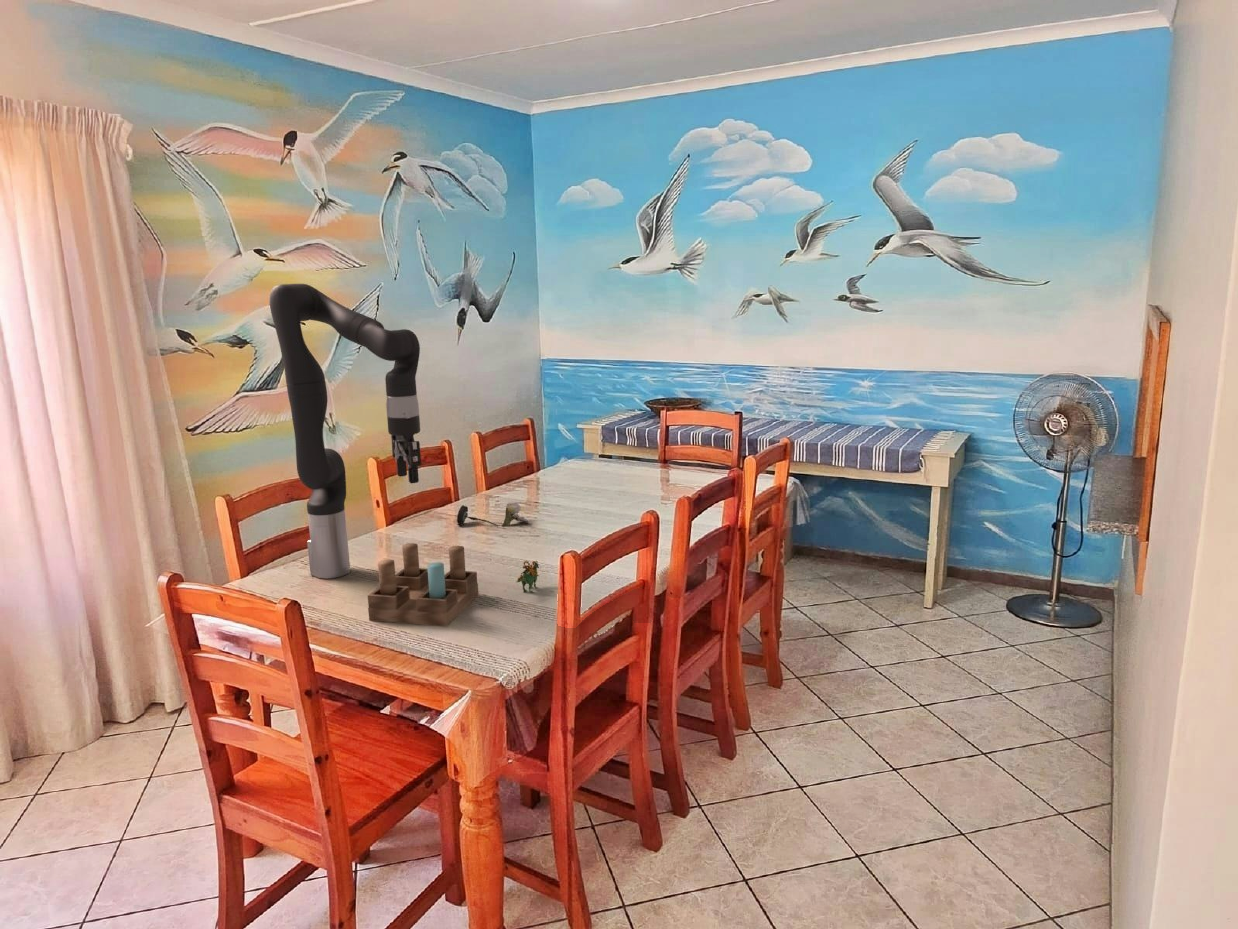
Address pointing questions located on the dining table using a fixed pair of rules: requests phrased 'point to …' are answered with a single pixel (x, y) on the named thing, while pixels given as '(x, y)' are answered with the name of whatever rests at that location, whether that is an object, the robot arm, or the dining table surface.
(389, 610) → the stool seat
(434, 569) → the loose leg
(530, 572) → the figurine
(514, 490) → the dining table surface
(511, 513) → the artificial flower
